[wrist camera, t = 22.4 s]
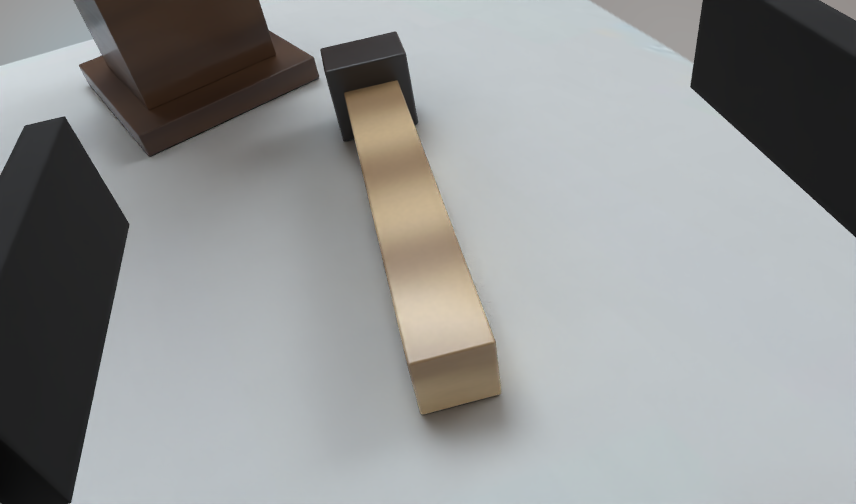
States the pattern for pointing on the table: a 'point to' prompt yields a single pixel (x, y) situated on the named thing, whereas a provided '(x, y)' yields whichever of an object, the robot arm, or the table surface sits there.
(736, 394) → the table surface
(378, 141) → the long wooden bar
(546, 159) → the table surface
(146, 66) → the wooden pedestal stand
